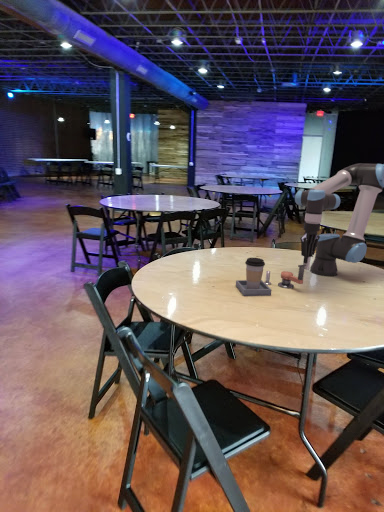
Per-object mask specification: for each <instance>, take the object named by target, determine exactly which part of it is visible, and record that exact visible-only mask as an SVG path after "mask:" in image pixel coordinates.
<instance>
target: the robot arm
mask: <svg viewBox="0 0 384 512" xmlns="http://www.w3.org/2000/svg"><path fill="white" fill-rule="evenodd" d="M352 185H353V186H354V185H355V186H358V189H359V194H358V196H357V200H356V202H355V206H354V209H353V212H352V215H351V218H350V222H349V223H348V226H347V227H348V228H347V229H346V232H345V233H343V234H342V236H340V234H338V233H322V234H319V235H318V232H320V231H321V225H322V224H321V223H322V219H323V211H324V210H335V209H337V208H338V207H340V204H341V197H340V196H339V195H338V194H336V193H334V192H336V191H338V190H339V189H341V188H343V187H344V188H346V187H349V186H352ZM383 189H384V163H383V164H382V163H355V164H352V165H349V166H347V167H344V168H343V169H341V170H339V171H337V173H336V174H335V175H333V176H332V177H330V178H328V179H326V180H324V181H322V182H320V183H319V184H317V185H315V186H313V187H311V188H309V189H307V190H299V191H297V192H296V193H295V196H294V202H295V203H296V205H297V206H301V207H305V209H306V210H305V215H304V222H303V227H302V228H303V230H304V233H303V236H301V237H299V239H300V246H301V247H300V253H301V256H302V257H303V260H302V261H303V263H302V265H303V264H305V265H306V266H304V271H305V270H306V271H309V272H311V273H313V274H315V275H318V276H323V275H324V277H334V276H333V275H335V276H337V275H338V267H337V266H338V265H337V260H341V261H344V262H346V263H347V262H348V263H352V264H357V263H359V262H360V261H362V260H363V259H364V257H365V256H366V253H367V250H368V249H367V248H368V247H367V244H366V243H365V241H366V240H365V238H364V235H365V232H366V229H367V227H368V222H369V221H370V218H371V214H372V211H373V208H374V206H375V203H376V199H377V197H378V195H379V193H381V192H383ZM313 257H314V260H313V261H312V262H311V258H313ZM336 274H337V275H336Z"/></svg>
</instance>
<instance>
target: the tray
mask: <svg viewBox="0 0 384 512" xmlns="http://www.w3.org/2000/svg"><path fill="white" fill-rule="evenodd" d="M264 282H265V281H264V280H262V279H261V282H260V286H259V289H247V280H245V279H242V280H241V279H240V280H239V279H238V280H237V279H236V280H235V287H236V288H237V290H238V291H239V292H240V294H241V295H242V296H243V297H256V296H257V297H260V296H261V297H262V296H263V297H265V296H266V297H267V296H272V291H273V290H272V288H271V287H269V286H268V285H266V284H265V283H264Z"/></svg>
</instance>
